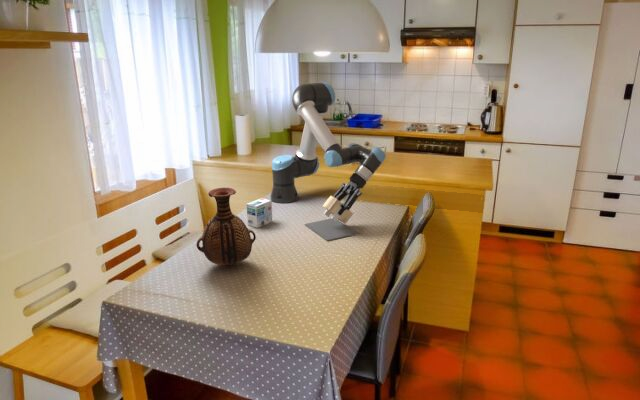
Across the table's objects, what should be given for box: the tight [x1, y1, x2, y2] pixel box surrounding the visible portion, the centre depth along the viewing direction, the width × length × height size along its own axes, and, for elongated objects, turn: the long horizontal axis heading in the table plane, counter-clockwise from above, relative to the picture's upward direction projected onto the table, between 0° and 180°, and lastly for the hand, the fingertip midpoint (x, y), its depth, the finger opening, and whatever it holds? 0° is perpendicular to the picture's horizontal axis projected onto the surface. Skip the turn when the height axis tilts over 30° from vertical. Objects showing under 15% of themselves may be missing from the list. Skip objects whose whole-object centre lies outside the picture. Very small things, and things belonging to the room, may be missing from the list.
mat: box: [304, 217, 360, 242], centre depth 213 cm, size 22×16×1 cm
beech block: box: [322, 195, 354, 225], centre depth 212 cm, size 6×6×12 cm
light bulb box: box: [246, 197, 273, 229], centre depth 221 cm, size 11×7×11 cm, turn 143°
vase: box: [196, 187, 257, 267], centre depth 176 cm, size 21×18×30 cm
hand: (329, 217), depth 211 cm, fingers closed on beech block, 6 cm apart
